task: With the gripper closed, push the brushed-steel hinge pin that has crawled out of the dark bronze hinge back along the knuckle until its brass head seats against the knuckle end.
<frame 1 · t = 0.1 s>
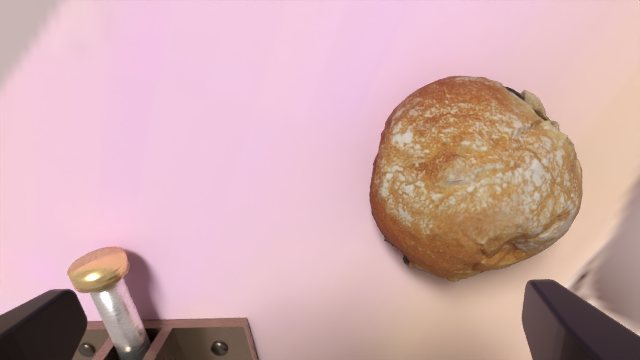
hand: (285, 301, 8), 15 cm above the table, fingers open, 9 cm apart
bread roll: (456, 169, 22), on the table
pin: (128, 334, 27), point 2 cm above the table, slide at 5.5 cm
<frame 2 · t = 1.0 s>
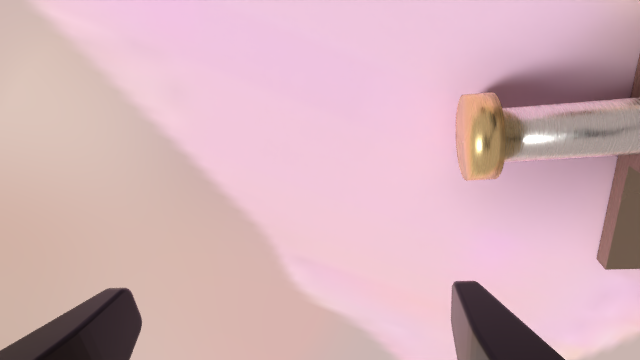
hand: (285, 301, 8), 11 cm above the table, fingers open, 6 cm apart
pin: (636, 126, 14), point 2 cm above the table, slide at 5.5 cm
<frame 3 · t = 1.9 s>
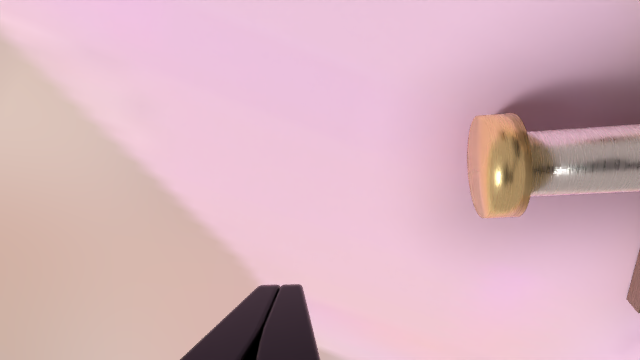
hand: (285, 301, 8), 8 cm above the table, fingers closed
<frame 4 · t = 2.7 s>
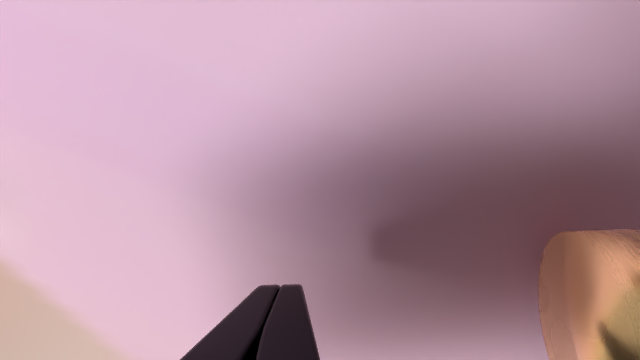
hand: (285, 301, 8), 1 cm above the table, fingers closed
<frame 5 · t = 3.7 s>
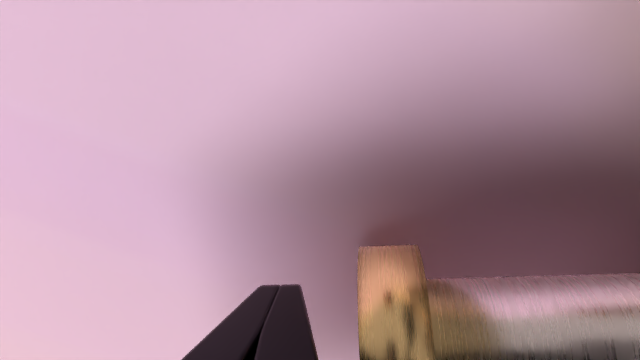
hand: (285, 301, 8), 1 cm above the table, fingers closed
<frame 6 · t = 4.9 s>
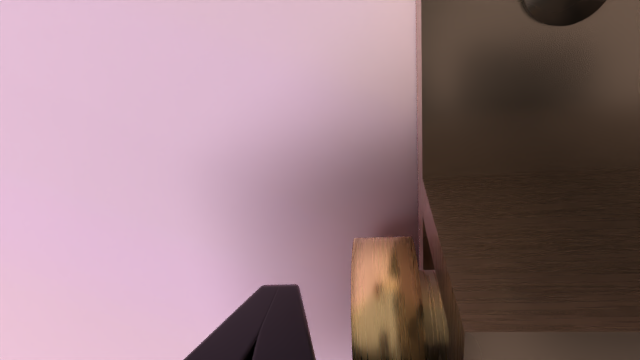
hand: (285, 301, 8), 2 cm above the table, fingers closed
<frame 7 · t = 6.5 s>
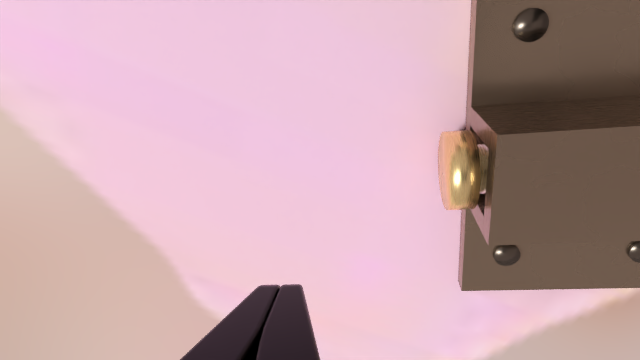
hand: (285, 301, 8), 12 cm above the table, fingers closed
hinge: (582, 142, 18), on the table
pin: (600, 162, 16), point 2 cm above the table, slide at 0.0 cm
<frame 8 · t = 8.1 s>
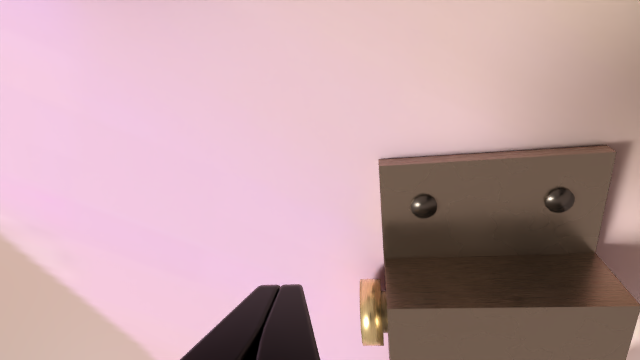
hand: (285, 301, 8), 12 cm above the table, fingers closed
hinge: (479, 280, 22), on the table
pin: (483, 310, 20), point 2 cm above the table, slide at 0.0 cm
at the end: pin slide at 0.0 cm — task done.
